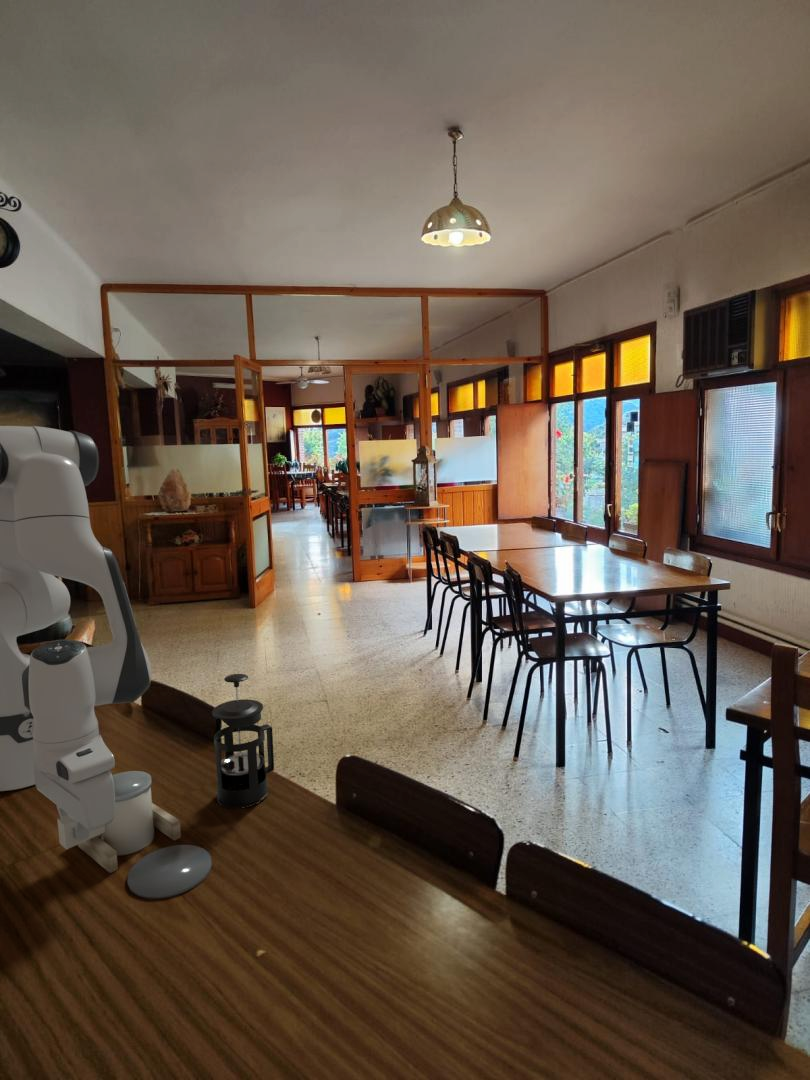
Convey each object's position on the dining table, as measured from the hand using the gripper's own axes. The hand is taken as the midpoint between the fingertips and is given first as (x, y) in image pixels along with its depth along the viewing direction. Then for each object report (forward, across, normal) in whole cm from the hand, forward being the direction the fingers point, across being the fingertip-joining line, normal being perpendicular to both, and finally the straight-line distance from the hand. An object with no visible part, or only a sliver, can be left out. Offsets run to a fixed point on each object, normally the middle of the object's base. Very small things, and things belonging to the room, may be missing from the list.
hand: (76, 833), depth 102 cm
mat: (+5, +13, +8) cm, 16 cm away
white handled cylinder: (+5, 0, +5) cm, 7 cm away
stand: (+5, 0, +8) cm, 9 cm away
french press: (+5, +3, +29) cm, 30 cm away
